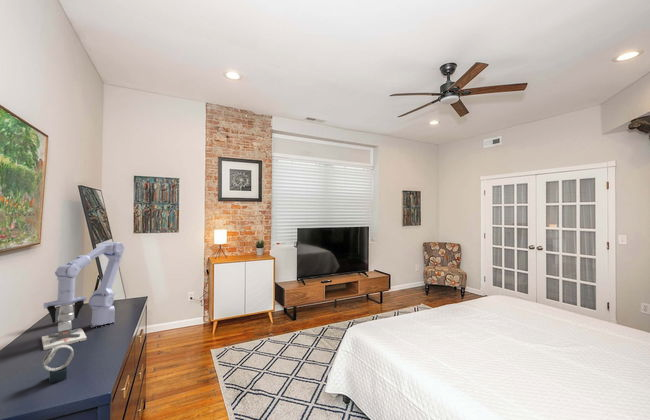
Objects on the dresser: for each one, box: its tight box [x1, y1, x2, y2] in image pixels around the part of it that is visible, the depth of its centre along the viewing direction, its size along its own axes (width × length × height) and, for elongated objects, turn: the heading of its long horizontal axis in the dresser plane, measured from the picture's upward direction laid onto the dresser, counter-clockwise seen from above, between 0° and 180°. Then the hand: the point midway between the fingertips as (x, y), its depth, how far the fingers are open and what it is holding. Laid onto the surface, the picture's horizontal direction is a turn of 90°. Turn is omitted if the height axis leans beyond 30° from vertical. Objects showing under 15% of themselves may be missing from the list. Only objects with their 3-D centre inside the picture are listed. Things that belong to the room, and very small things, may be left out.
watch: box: [41, 344, 75, 385], centre depth 98 cm, size 6×8×11 cm
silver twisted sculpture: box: [57, 291, 76, 323], centre depth 151 cm, size 6×7×20 cm
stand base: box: [41, 327, 88, 351], centre depth 129 cm, size 14×16×4 cm
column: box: [57, 321, 73, 333], centre depth 129 cm, size 4×4×6 cm
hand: (64, 319), depth 129 cm, fingers open, 7 cm apart
